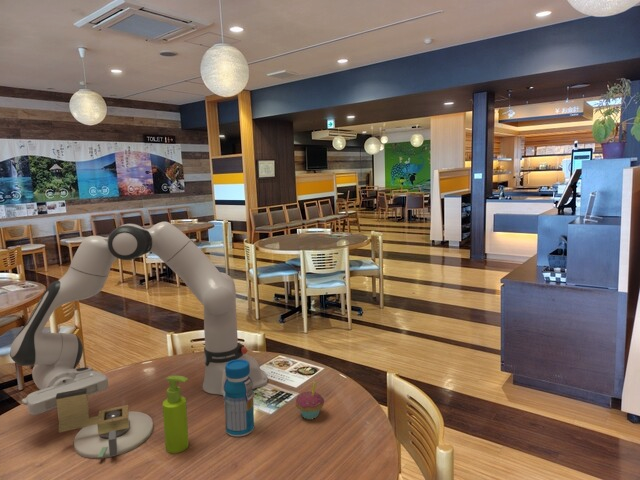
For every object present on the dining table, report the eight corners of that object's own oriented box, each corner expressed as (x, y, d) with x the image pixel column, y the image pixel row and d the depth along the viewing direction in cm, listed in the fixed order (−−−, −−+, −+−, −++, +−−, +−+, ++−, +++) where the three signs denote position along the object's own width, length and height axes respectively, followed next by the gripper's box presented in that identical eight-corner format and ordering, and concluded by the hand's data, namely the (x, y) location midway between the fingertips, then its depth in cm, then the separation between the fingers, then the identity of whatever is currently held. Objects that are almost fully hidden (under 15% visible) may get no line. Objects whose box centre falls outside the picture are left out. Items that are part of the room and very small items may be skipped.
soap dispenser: (185, 455, 112) (180, 383, 109) (161, 451, 113) (156, 381, 110) (196, 441, 118) (191, 373, 115) (173, 438, 119) (168, 371, 116)
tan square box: (134, 421, 125) (133, 405, 124) (123, 438, 117) (122, 421, 116) (106, 423, 124) (104, 407, 124) (93, 439, 116) (92, 423, 116)
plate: (161, 414, 131) (160, 396, 130) (136, 461, 110) (134, 439, 109) (94, 417, 130) (93, 399, 129) (55, 465, 108) (53, 444, 107)
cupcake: (328, 411, 132) (328, 375, 130) (316, 426, 124) (316, 387, 122) (303, 405, 135) (302, 370, 134) (290, 419, 128) (289, 382, 126)
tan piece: (128, 414, 125) (125, 376, 124) (128, 427, 118) (125, 387, 117) (61, 428, 118) (57, 388, 117) (57, 443, 112) (53, 401, 110)
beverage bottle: (229, 441, 118) (226, 372, 115) (221, 425, 125) (218, 361, 122) (258, 432, 121) (256, 366, 118) (249, 418, 129) (247, 355, 126)
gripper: (18, 388, 118) (33, 406, 109) (96, 364, 133) (114, 378, 124) (21, 409, 119) (35, 429, 110) (97, 383, 134) (116, 398, 125)
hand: (78, 402), depth 117 cm, fingers closed
